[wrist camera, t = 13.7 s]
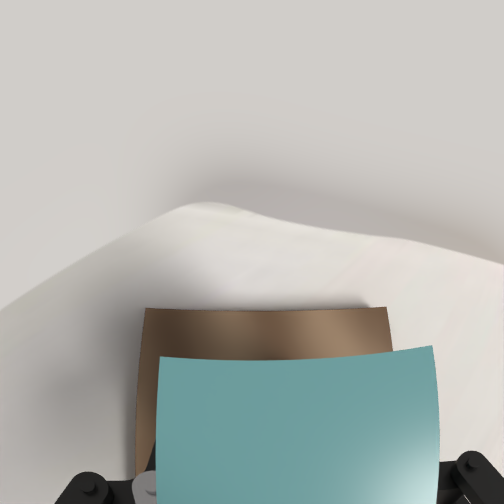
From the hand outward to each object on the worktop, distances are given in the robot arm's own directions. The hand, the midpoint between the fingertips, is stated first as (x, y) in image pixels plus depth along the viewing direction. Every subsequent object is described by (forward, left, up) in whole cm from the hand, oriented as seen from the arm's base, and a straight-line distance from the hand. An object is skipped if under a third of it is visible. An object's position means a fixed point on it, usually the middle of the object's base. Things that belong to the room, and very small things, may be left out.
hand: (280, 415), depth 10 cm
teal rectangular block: (0, -2, -5) cm, 5 cm away
